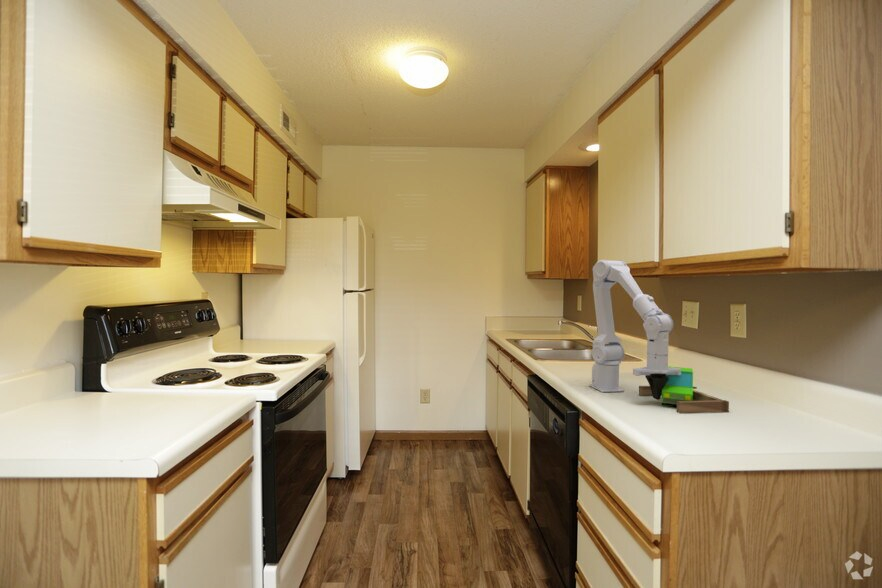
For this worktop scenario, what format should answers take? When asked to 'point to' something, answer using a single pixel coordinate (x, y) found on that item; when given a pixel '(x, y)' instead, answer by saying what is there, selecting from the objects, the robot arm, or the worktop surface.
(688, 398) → the toy car
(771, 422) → the worktop surface
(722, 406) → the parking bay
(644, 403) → the worktop surface
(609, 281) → the robot arm
